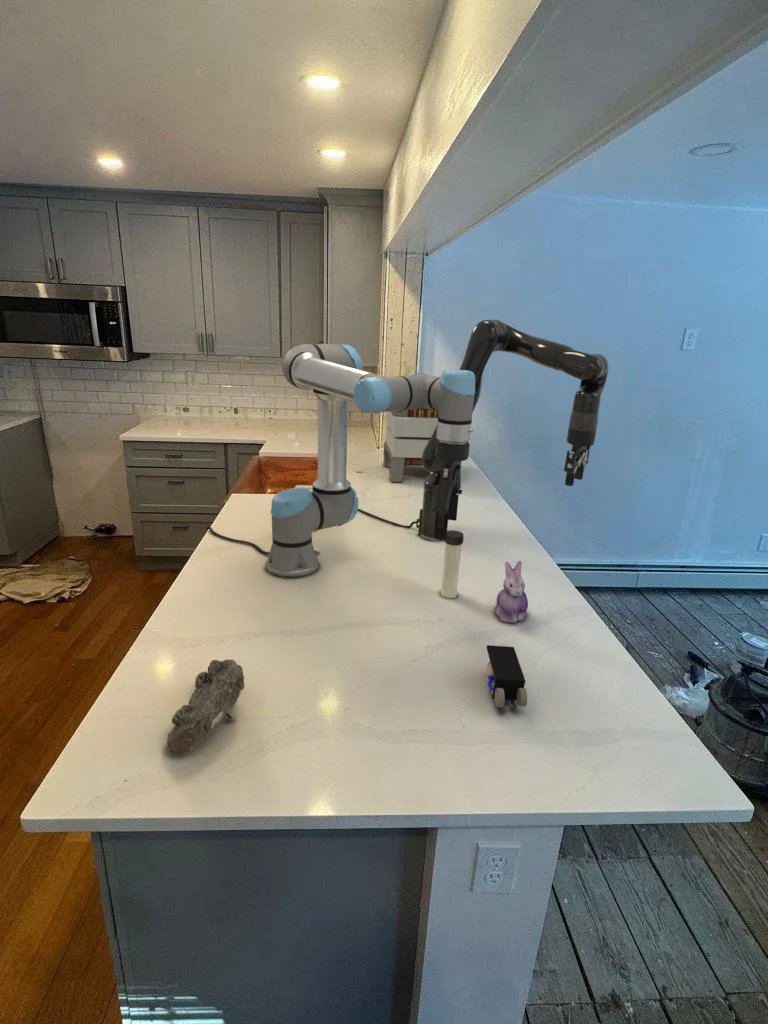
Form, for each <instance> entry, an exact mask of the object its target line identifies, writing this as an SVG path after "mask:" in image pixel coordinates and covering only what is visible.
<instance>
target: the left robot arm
mask: <svg viewBox="0 0 768 1024" xmlns="http://www.w3.org/2000/svg"><path fill="white" fill-rule="evenodd" d="M281 367H282V375H283V376H284V378H285V380H286V382H287V383H289V384H290V385H291V386H293V387H294V388H297V389H300V390H304V391H310V390H312V394H313V395H314V396H315V397H317V406H318V407H317V477H316V479H315V480H314V481H313V482H312V486H313V489H312V492H311V491H310V490H308V489H304V488H297V489H295V487H293V488H292V487H291V488H286V489H283V490H281V491H278V492H277V493H275V495H274V496H273V497H272V499H271V506H270V507H271V508H270V514H271V539H272V544H271V546H270V550H269V551H264V550H263V549H262V548H260V547H259V546H258V545H257V544H255V543H253V542H252V541H251V542H250V541H247V540H242V539H236V538H231V537H228V536H224V535H222V534H219V533H218V532H216V531H214V530H213V528H212V526H210V525H209V526H207V527H206V528H205V529H206V530H210V532H211V533H212V534H213V535H215V536H217V537H219V538H222V539H224V540H228V541H231V542H236V543H240V544H246V545H250V546H252V547H254V548H256V549H257V550H258V551H259V552H260V553H261V554H264V555H268V556H267V559H266V569H267V571H268V572H269V573H270V574H272V575H274V576H277V577H283V578H298V577H305V576H308V575H311V574H312V573H313V574H314V572H316V571H317V570H318V568H319V558H318V557H321V552H320V551H319V550H315V547H314V544H313V532H315V531H320V530H325V529H329V528H334V527H340V526H343V525H345V524H349V523H350V522H351V521H353V520H354V519H355V518H356V516H357V513H358V512H359V511H358V509H359V497H358V496H357V492H356V490H355V488H354V487H352V483H351V482H350V480H348V479H347V464H348V463H347V461H348V460H347V459H348V458H347V457H348V423H349V420H348V419H349V418H348V417H349V402H350V403H354V404H355V406H356V407H357V408H358V409H359V411H360V412H362V413H364V414H379V413H381V414H382V413H386V412H388V411H397V410H409V409H419V408H426V409H432V410H436V411H438V423H437V435H436V438H437V439H438V441H437V442H436V452H435V455H436V457H437V458H439V459H442V460H444V464H443V466H442V467H441V469H440V479H439V486H438V492H437V498H436V505H435V509H434V508H433V512H436V520H435V534H434V539H439V540H441V541H444V540H445V541H446V539H447V531H448V525H449V521H453V522H456V521H457V519H458V505H459V495H462V494H463V489H461V487H462V486H461V472H462V462H464V461H467V460H468V459H469V458H470V457H469V456H470V447H471V446H470V445H471V444H470V443H469V442H470V440H471V433H473V432H474V431H475V429H474V427H472V423H473V413H474V411H473V404H474V396H475V374H474V373H473V372H471V371H467V370H459V369H456V368H455V369H454V368H453V369H452V368H451V369H450V368H449V369H443V370H442V371H441V375H440V376H436V375H432V374H426V373H423V372H410V373H408V374H407V375H393V376H391V375H390V376H389V375H388V376H387V375H386V376H385V375H380V374H376V373H373V372H369V371H365V370H364V366H363V361H362V359H361V356H360V354H359V353H358V351H357V350H356V349H355V347H353V346H351V345H349V344H346V343H345V344H344V343H304V344H303V343H301V344H299V345H296V346H294V347H292V348H291V349H290V350H288V351H287V353H286V354H285V356H284V358H283V360H282V365H281ZM472 412H473V413H472ZM461 461H462V462H461ZM441 507H444V508H441ZM445 541H444V542H445Z"/></svg>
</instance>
